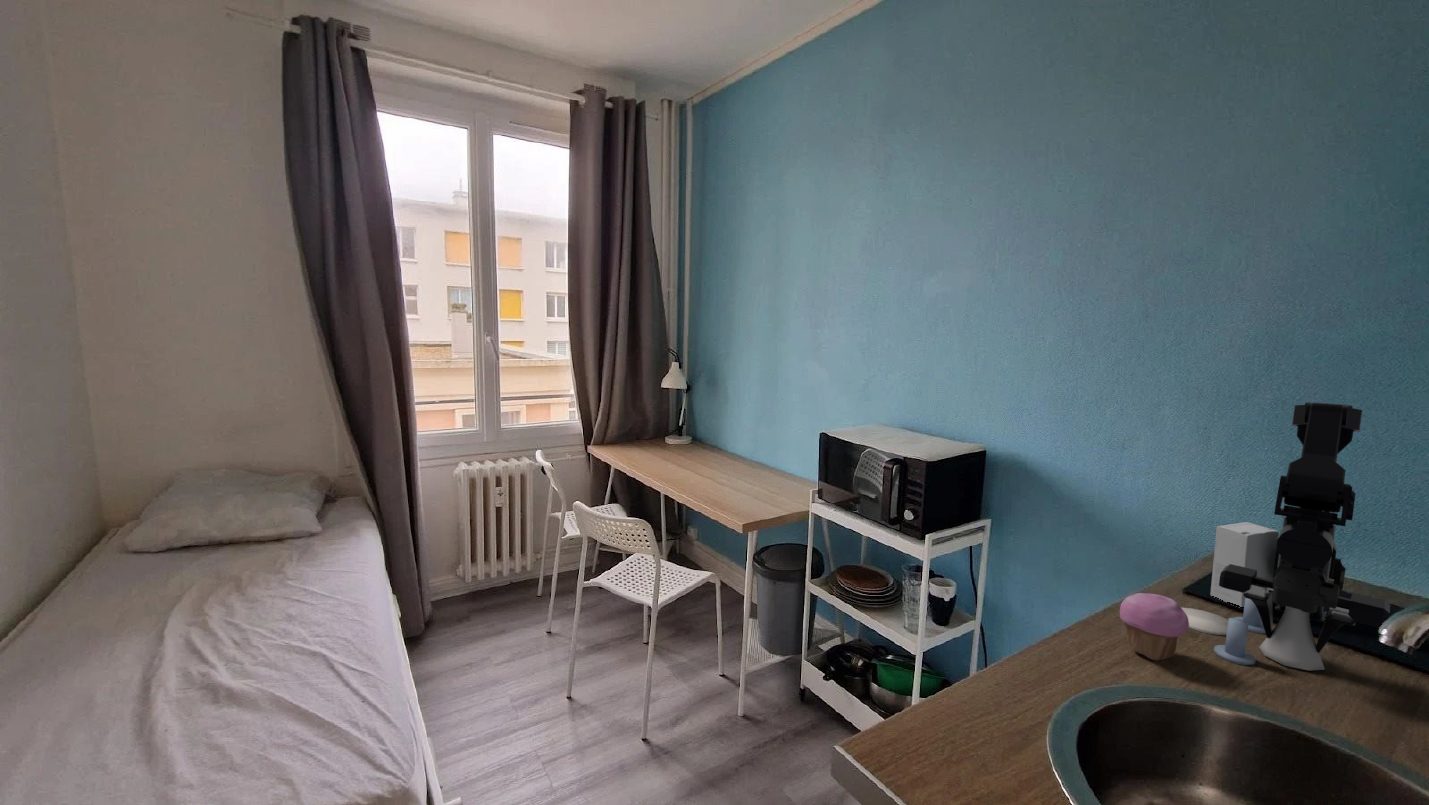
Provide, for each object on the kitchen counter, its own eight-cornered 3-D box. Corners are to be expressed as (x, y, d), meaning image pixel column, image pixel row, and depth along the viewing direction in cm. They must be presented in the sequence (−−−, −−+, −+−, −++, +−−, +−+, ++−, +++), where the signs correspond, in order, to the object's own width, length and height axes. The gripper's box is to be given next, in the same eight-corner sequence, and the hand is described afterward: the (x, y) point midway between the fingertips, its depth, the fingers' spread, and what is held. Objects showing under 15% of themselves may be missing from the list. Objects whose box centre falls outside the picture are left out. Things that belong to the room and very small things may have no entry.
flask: (1336, 675, 90) (1345, 613, 88) (1281, 669, 91) (1289, 608, 90) (1299, 650, 97) (1307, 592, 96) (1249, 645, 98) (1256, 588, 97)
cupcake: (1195, 661, 93) (1202, 601, 92) (1166, 675, 89) (1172, 613, 88) (1134, 635, 101) (1139, 580, 100) (1105, 647, 97) (1110, 590, 96)
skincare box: (1239, 592, 119) (1245, 520, 117) (1274, 605, 113) (1281, 530, 111) (1208, 596, 117) (1214, 523, 115) (1242, 609, 111) (1248, 533, 109)
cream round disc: (1177, 606, 112) (1177, 603, 112) (1239, 624, 105) (1239, 621, 105) (1164, 620, 106) (1164, 617, 106) (1229, 640, 100) (1229, 637, 100)
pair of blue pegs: (1235, 617, 108) (1239, 586, 107) (1272, 627, 104) (1276, 595, 104) (1210, 655, 95) (1215, 620, 94) (1252, 669, 91) (1256, 632, 90)
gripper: (1217, 545, 94) (1206, 637, 96) (1395, 584, 80) (1378, 691, 81) (1231, 531, 101) (1220, 617, 103) (1396, 564, 87) (1381, 663, 88)
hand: (1292, 644), depth 94 cm, fingers closed on flask, 5 cm apart
